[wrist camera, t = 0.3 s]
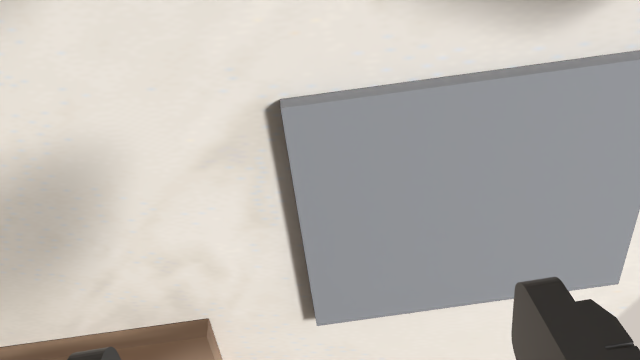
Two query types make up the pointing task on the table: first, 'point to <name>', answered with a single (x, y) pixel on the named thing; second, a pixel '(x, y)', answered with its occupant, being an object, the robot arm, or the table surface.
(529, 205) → the rubber mat
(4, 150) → the table surface
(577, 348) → the robot arm
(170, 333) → the brown pedestal stand
